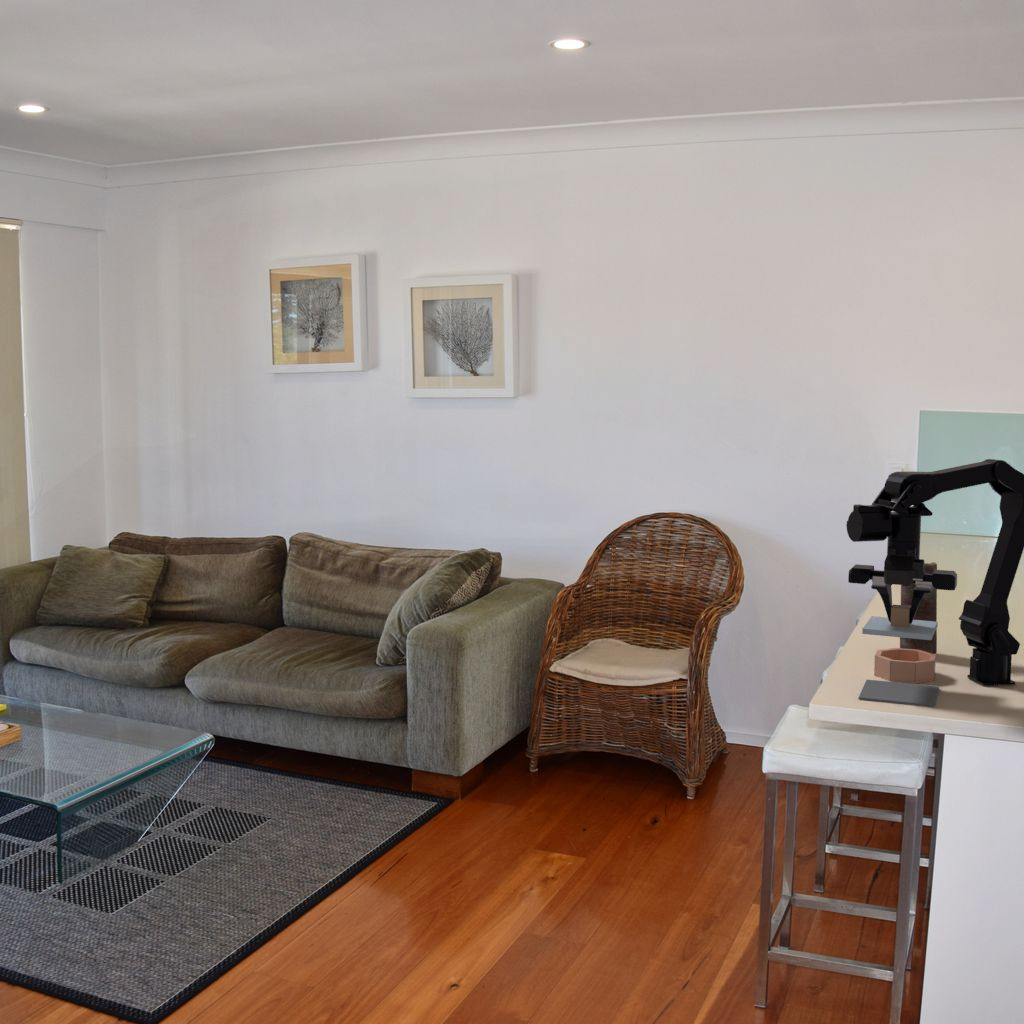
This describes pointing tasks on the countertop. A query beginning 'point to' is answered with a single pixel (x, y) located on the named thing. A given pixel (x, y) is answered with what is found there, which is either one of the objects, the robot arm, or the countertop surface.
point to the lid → (900, 625)
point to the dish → (905, 665)
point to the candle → (921, 614)
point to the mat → (899, 693)
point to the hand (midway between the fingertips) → (900, 622)
